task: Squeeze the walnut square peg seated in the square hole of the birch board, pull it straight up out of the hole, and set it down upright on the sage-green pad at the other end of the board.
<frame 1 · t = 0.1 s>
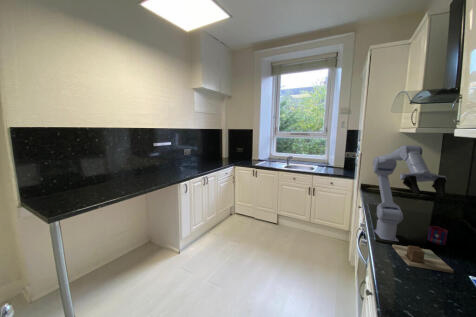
hand: (430, 195, 73), 32 cm above the counter, tool tilted 50°, fingers open, 7 cm apart
peg: (414, 261, 85), resting in board
board: (419, 258, 86), on the counter
mug: (436, 240, 102), on the counter
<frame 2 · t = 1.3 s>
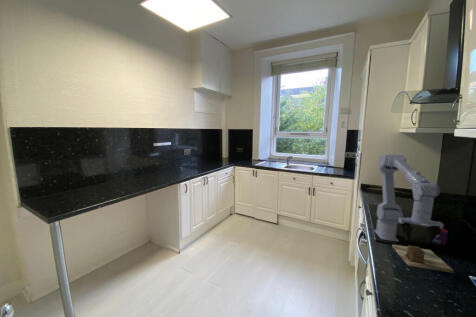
hand: (417, 241, 83), 10 cm above the counter, tool pointing down, fingers open, 7 cm apart
nothing on the counter moved.
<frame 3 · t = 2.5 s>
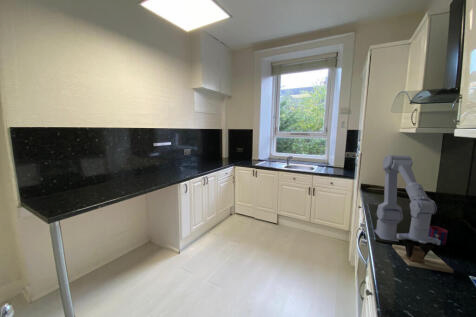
hand: (414, 256, 84), 2 cm above the counter, tool pointing down, fingers closed on peg, 4 cm apart
peg: (414, 261, 85), resting in board, touching gripper
everything else where it was.
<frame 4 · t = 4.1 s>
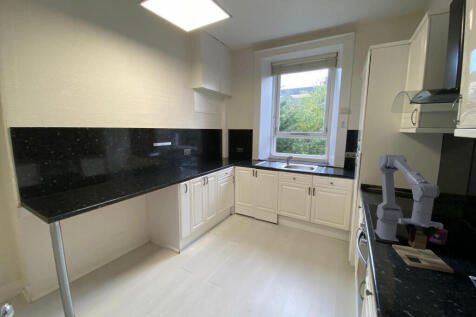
hand: (417, 241, 83), 9 cm above the counter, tool pointing down, fingers closed on peg, 4 cm apart
peg: (416, 246, 84), point 7 cm above the counter, touching gripper
everything else where it was.
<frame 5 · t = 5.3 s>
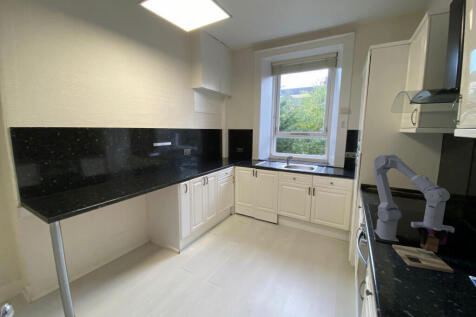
hand: (429, 244, 87), 6 cm above the counter, tool pointing down, fingers closed on peg, 4 cm apart
peg: (428, 249, 87), point 4 cm above the counter, touching gripper
everything else where it was.
when the fingers open (5 cm above the counter, at t = 6.0 s): peg stays where it is, resting on board.
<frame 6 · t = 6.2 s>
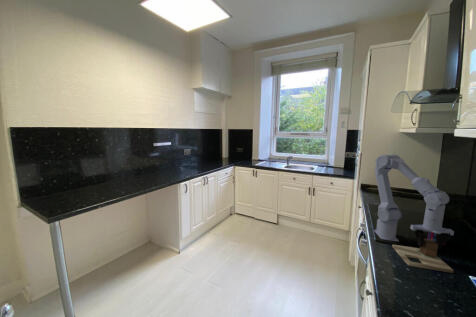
hand: (428, 247, 87), 5 cm above the counter, tool pointing down, fingers open, 6 cm apart
peg: (427, 253, 88), point 1 cm above the counter, touching board
everything else where it was.
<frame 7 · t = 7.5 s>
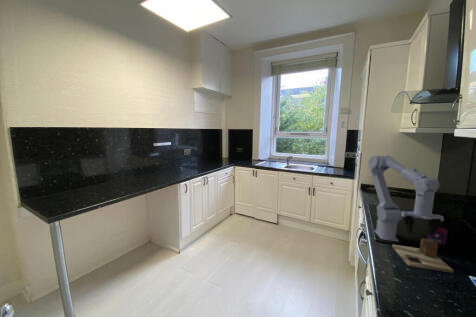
hand: (419, 233, 88), 10 cm above the counter, tool pointing down, fingers open, 7 cm apart
nothing on the counter moved.
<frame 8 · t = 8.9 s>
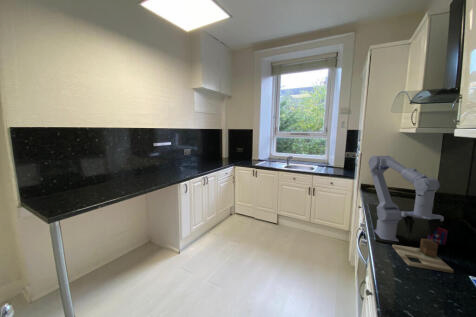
hand: (419, 233, 88), 10 cm above the counter, tool pointing down, fingers open, 7 cm apart
nothing on the counter moved.
at the end: peg 0.0 cm from the target spot on the board, point 1.5 cm above the board's base; peg tilted 0°; the gripper is holding nothing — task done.
